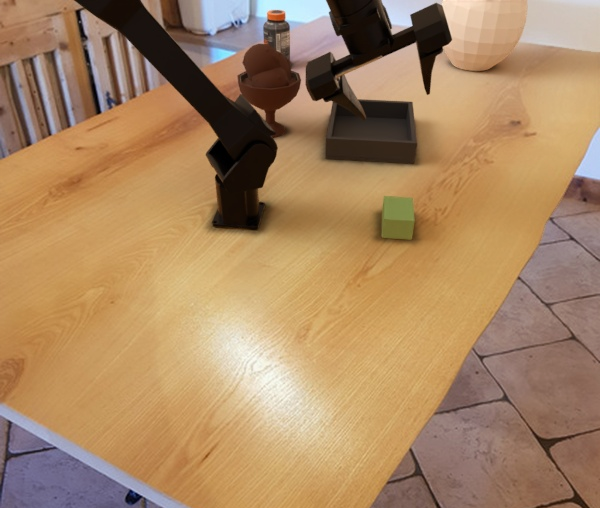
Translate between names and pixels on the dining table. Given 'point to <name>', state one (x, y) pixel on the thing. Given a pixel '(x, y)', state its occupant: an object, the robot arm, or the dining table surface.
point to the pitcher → (483, 31)
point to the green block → (397, 217)
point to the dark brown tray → (373, 132)
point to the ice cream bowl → (268, 82)
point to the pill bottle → (277, 32)
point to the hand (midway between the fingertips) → (395, 105)
